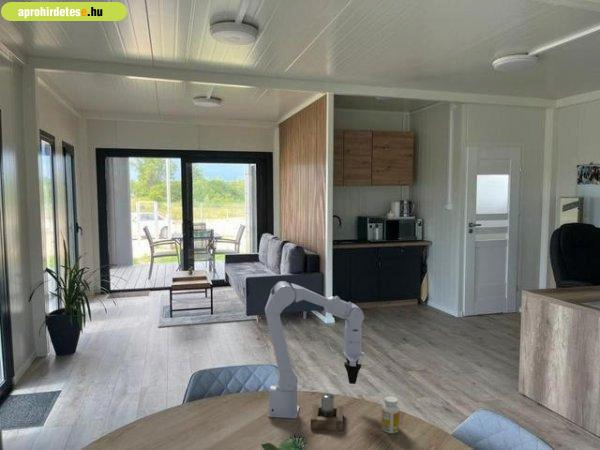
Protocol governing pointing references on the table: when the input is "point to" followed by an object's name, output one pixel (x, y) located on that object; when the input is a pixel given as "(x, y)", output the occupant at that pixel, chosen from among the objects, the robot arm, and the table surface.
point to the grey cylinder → (327, 405)
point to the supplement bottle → (390, 415)
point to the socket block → (327, 419)
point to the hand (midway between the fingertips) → (352, 378)
